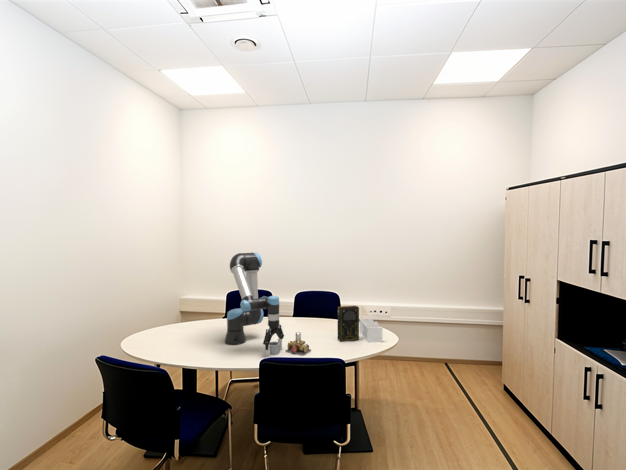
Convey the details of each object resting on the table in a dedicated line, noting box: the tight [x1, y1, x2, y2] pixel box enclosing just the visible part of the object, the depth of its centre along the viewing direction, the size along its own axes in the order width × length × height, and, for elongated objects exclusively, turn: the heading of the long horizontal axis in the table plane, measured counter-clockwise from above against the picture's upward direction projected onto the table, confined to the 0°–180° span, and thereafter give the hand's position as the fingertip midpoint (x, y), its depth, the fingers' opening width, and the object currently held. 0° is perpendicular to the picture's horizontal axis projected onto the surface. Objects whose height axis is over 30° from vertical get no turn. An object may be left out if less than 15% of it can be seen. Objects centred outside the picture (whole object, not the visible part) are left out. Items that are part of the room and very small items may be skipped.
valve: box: [285, 331, 312, 357], centre depth 234 cm, size 14×11×12 cm
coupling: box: [269, 341, 281, 356], centre depth 232 cm, size 8×8×6 cm
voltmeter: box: [337, 305, 360, 343], centre depth 258 cm, size 16×9×25 cm, turn 105°
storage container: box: [359, 317, 383, 343], centre depth 265 cm, size 25×11×11 cm, turn 6°
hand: (274, 351), depth 232 cm, fingers open, 13 cm apart
